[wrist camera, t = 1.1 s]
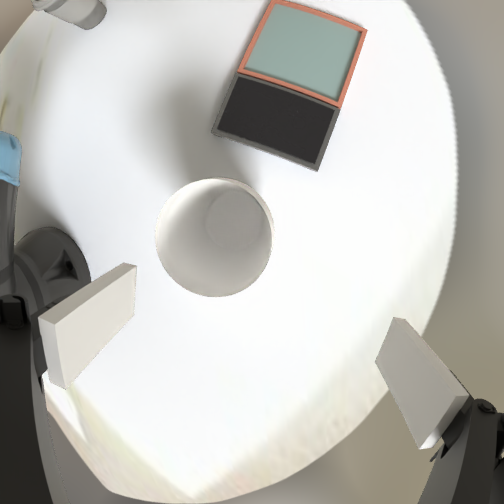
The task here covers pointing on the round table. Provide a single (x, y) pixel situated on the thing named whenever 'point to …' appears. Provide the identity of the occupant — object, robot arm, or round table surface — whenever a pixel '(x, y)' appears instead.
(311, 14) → the print frame
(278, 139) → the ink pad
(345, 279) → the round table surface
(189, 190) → the cup
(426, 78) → the round table surface
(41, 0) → the cup
